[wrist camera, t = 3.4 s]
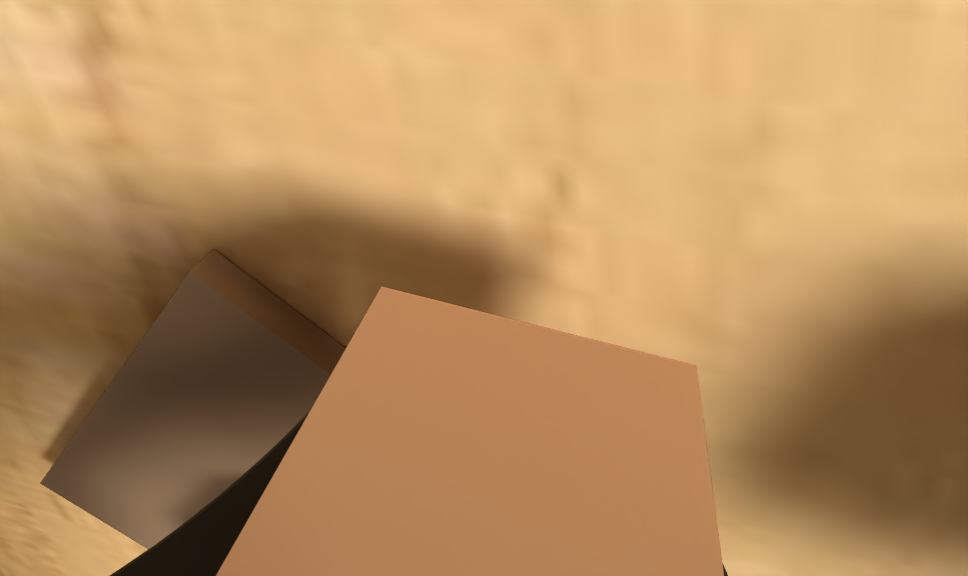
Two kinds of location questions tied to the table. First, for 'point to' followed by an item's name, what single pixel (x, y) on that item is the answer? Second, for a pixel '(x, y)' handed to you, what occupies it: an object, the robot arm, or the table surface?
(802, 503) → the table surface
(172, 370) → the duct board
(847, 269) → the table surface
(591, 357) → the duct sleeve
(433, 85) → the table surface
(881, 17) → the table surface
